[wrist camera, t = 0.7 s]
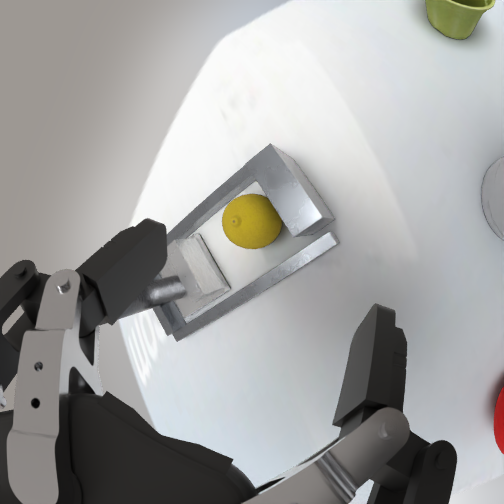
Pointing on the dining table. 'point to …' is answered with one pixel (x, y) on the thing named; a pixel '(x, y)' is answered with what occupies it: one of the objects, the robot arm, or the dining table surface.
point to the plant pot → (456, 15)
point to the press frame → (288, 207)
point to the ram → (183, 280)
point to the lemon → (251, 221)
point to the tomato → (499, 421)
